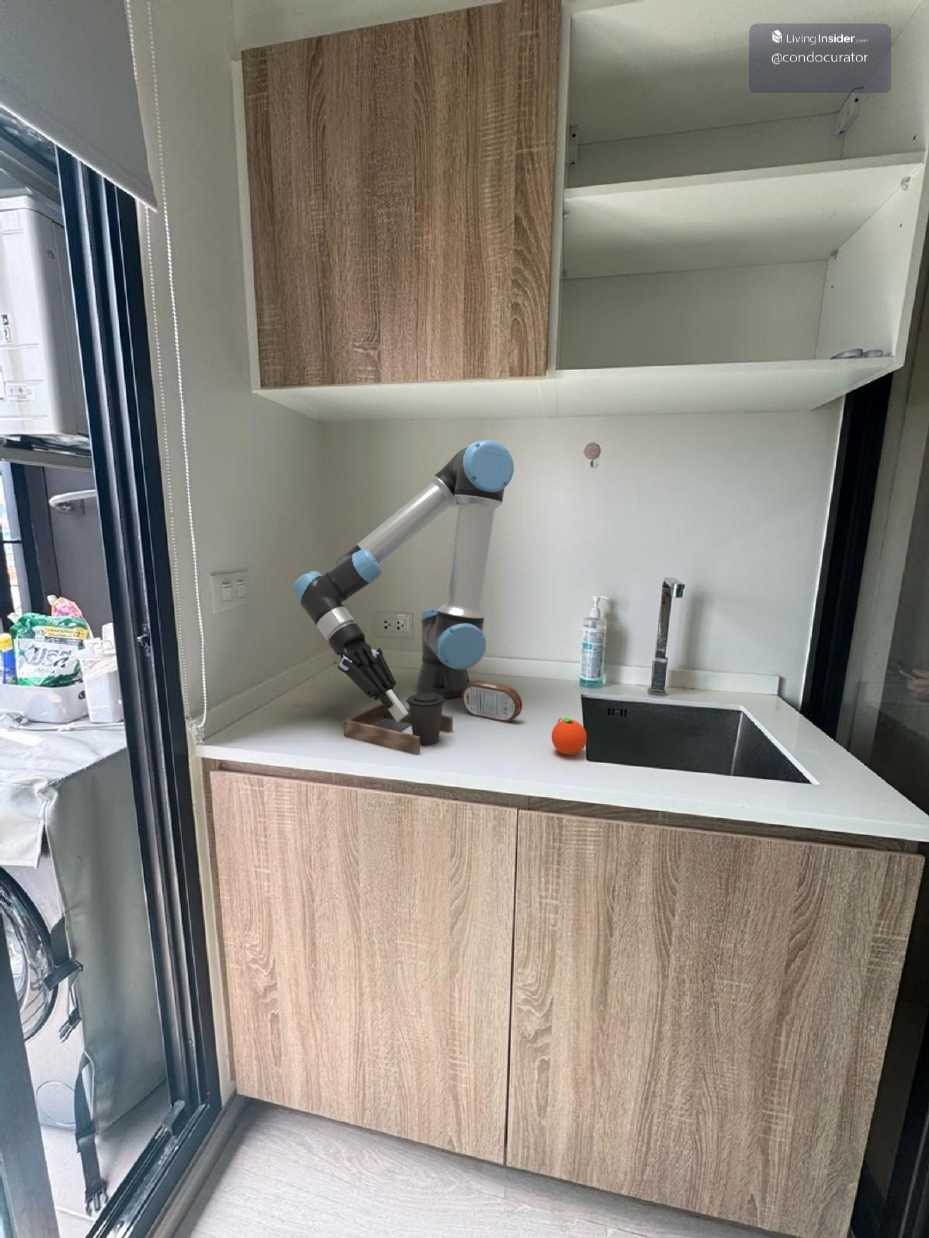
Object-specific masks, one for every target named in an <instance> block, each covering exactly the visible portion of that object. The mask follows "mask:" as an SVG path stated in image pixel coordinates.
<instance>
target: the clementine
mask: <svg viewBox="0 0 929 1238" xmlns="http://www.w3.org/2000/svg"><path fill="white" fill-rule="evenodd" d="M585 729H586V728H584V726H583V725H582V724H581V723H579V722H578V721H577V720H575V719H571V718H569V717H564V718H558V721H557V723H556V724H555V726H554V727H553V729H552V731H551V742H552V744H553V747H554V748H555V749H556V750H557V751H558V752H560V753H561V754H563V755H567V756H572V755H576V754H579V753H580V752H581V751H583V749H585V746H586V744H587V740H588V738H587V736H588V735H587V732H586V730H585Z"/></svg>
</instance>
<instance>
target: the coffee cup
mask: <svg viewBox="0 0 929 1238" xmlns="http://www.w3.org/2000/svg"><path fill="white" fill-rule="evenodd" d="M445 702H446V698H444V697H443V696H441V695H439V694H436V693H433V692H431V693H419V694H418V693H414V694H412V695H410V696H409V697H408V698H406V703H407V704H408V707H409V710H410V717H411V733H412V735H416V736H420V746H425V747H426V746H427V747H428V746H433V745H436V744H438V743H439V741H440V732H441V731H440V725H441V716H442V714H443V707H444V704H445Z"/></svg>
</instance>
